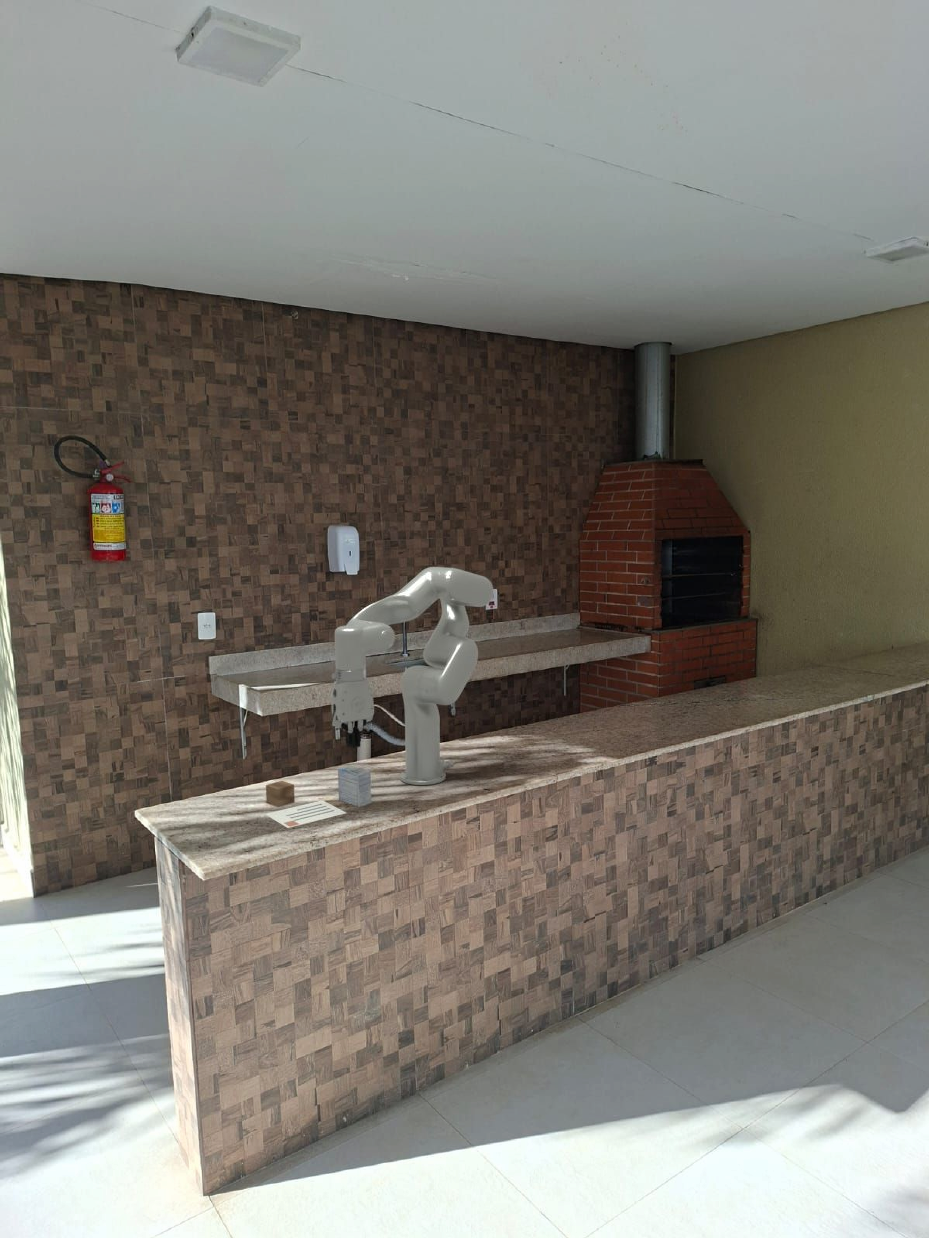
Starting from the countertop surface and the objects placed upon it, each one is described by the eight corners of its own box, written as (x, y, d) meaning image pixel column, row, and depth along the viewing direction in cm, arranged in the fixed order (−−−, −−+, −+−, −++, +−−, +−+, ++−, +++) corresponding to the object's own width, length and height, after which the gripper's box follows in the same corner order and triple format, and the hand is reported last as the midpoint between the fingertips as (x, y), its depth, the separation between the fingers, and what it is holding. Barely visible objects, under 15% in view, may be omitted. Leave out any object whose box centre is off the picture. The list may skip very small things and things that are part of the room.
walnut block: (282, 799, 226) (281, 780, 225) (294, 803, 223) (294, 784, 222) (266, 804, 222) (265, 785, 222) (278, 808, 219) (278, 789, 218)
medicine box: (371, 803, 222) (371, 770, 221) (358, 808, 219) (357, 774, 218) (351, 797, 227) (350, 764, 226) (338, 801, 224) (337, 768, 223)
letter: (322, 801, 224) (322, 800, 224) (346, 814, 215) (346, 812, 215) (264, 815, 214) (264, 813, 214) (287, 829, 205) (287, 827, 205)
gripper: (331, 681, 211) (334, 755, 214) (385, 673, 220) (387, 743, 223) (316, 677, 217) (319, 748, 220) (369, 668, 226) (371, 737, 229)
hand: (353, 746), depth 221 cm, fingers closed
